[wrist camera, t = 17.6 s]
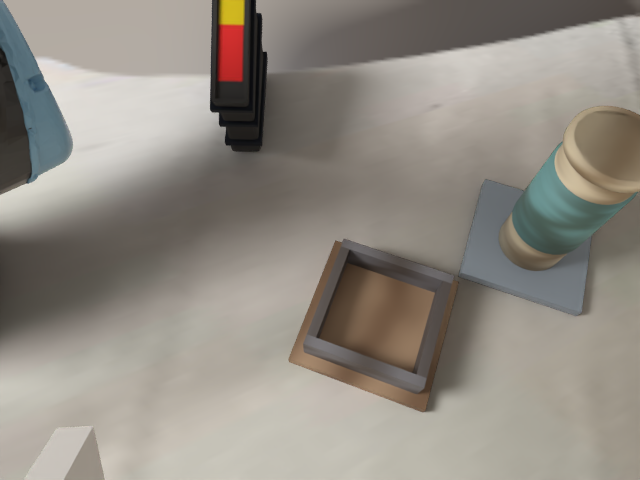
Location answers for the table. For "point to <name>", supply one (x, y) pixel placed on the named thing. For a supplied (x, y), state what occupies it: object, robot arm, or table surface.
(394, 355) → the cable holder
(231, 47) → the magazine
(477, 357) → the table surface
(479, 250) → the rubber mat
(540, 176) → the disc
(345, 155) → the table surface
